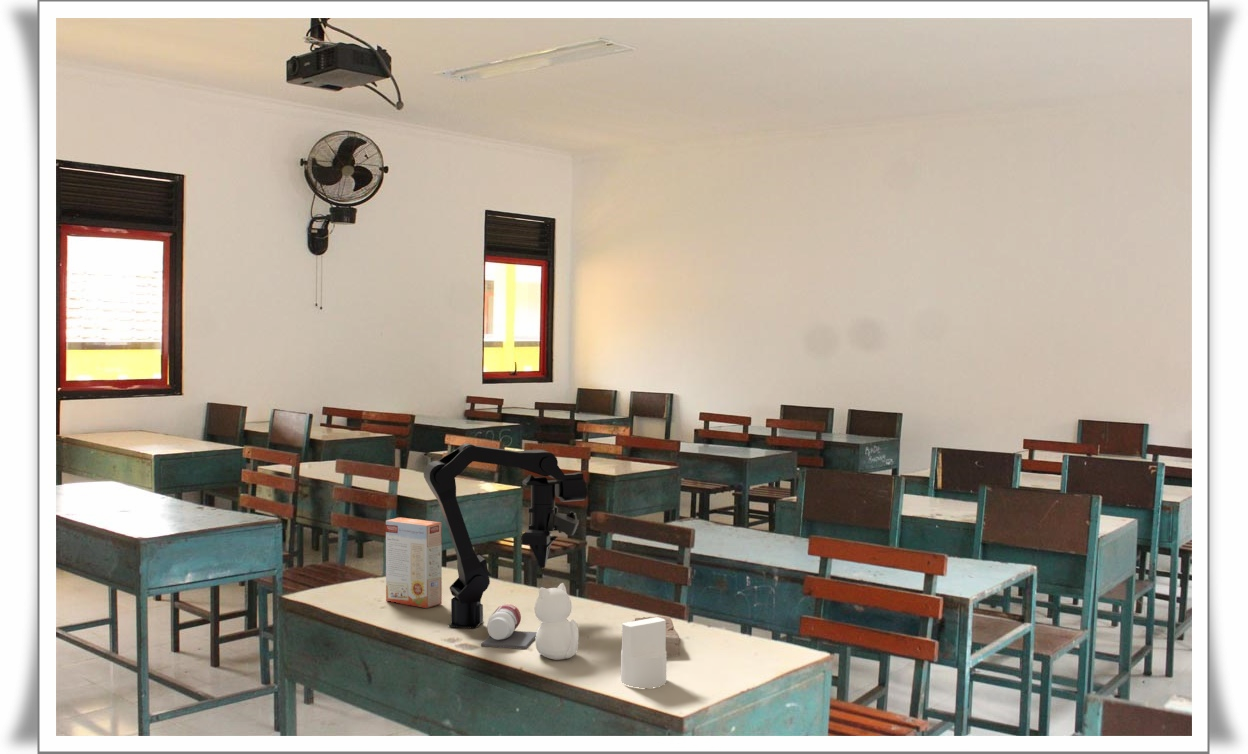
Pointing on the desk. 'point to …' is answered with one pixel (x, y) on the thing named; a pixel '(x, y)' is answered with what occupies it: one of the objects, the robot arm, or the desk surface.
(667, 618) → the brick
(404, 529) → the cracker box
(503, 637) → the pill bottle
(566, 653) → the cat figurine
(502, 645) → the mat
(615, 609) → the desk surface
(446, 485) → the robot arm
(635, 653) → the base with upright slab
